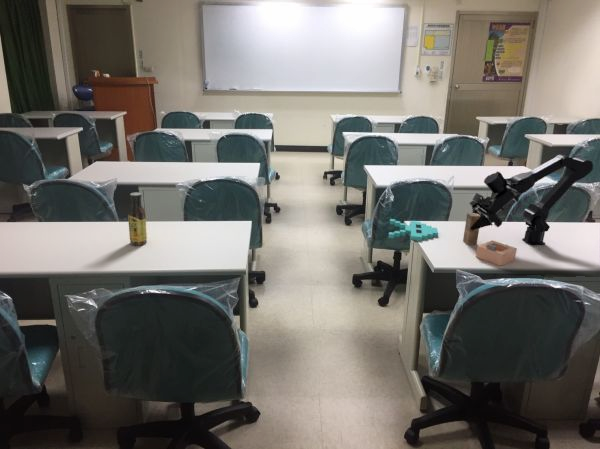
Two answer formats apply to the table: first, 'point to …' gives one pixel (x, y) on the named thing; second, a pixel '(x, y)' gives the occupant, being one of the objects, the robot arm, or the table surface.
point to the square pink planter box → (496, 252)
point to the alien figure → (413, 230)
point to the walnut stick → (469, 234)
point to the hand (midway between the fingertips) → (468, 227)
